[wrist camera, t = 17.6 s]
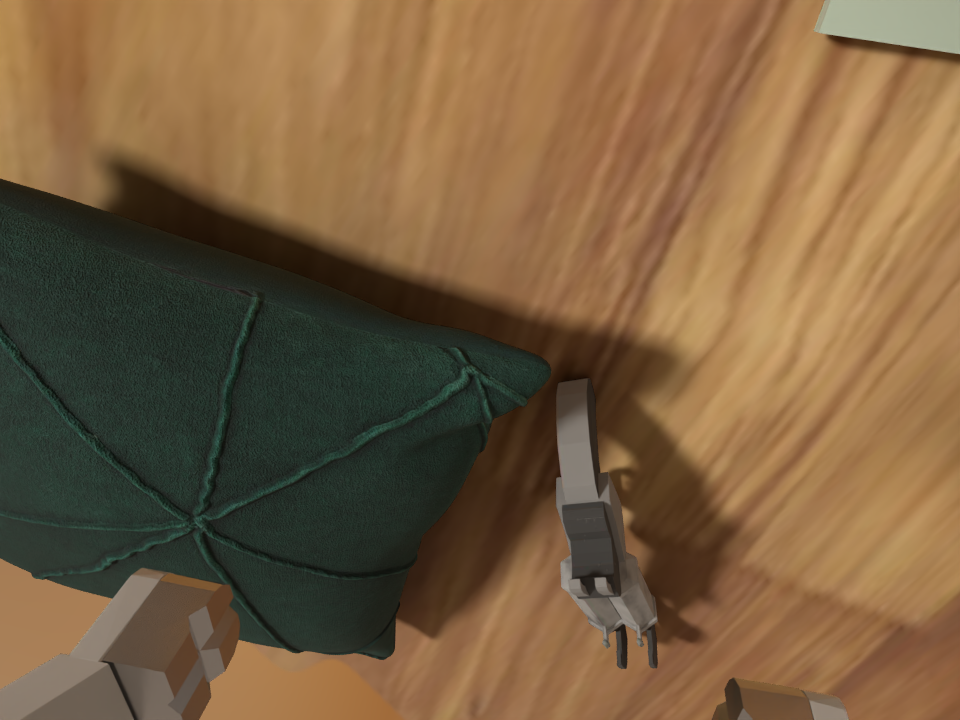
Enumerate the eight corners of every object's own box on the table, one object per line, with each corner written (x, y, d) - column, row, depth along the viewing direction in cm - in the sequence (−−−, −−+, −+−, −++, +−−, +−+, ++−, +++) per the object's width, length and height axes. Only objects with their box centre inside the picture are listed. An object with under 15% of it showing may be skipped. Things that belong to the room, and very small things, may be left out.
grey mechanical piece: (605, 360, 47) (624, 581, 37) (654, 511, 68) (674, 675, 59) (531, 372, 48) (531, 587, 39) (601, 515, 70) (613, 676, 61)
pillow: (531, 517, 29) (373, 762, 59) (567, 281, 42) (423, 579, 72) (-475, 179, 26) (-104, 615, 56) (-97, 44, 40) (40, 454, 70)
